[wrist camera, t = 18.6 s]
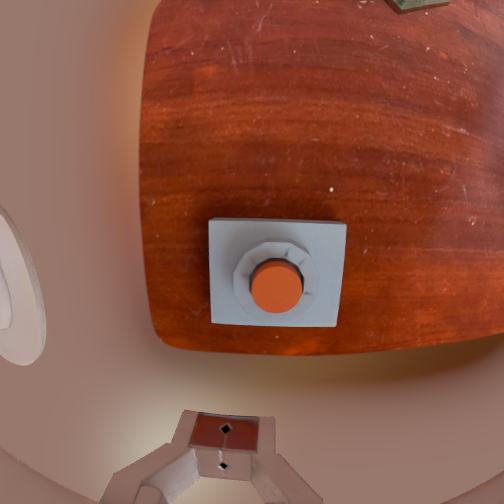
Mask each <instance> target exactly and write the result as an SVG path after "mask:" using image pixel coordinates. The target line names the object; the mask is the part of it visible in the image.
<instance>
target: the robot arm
mask: <svg viewBox="0 0 504 504" xmlns="http://www.w3.org/2000/svg"><path fill="white" fill-rule="evenodd" d="M11 317H12V310H11V301H10V296H9V291H8V287H7V284H6V280H5V277H4V274H3V271H2V268H1V262H0V331H1V330H6V329H7V328H8V327H9V326H10V323H11ZM199 476H202V477H211V478H222V479H232V480H243V481H251V483H252V485H253V486H254V488H255V489H256V491H257V492H258V494H259V495H260V497H261V498H262V500H263V501H264V502H265V504H323V499H322V498H321V497H320V496H319V495H318V494H317V493H316V492H315V491H314V490H313V489H312V488H311V487H310V486H309V485H308V484H307V483H306V482H305V481H304V480H303V479H302V477H300V475H299V474H298V473H297V472H296V471H295V470H294V469H293V468H292V467H291V466H290V465H289V463H288V462H287V461H286V460H285V459H284V458H283V457H282V456H281V455H280V454H275V418H274V417H255V416H253V417H252V416H233V415H220V414H211V413H204V412H195V411H189V410H184V412H183V413H182V415H181V418H180V420H179V423H178V426H177V428H176V431H175V434H174V436H173V439H172V442H171V444H170V443H166V444H164V445H163V446H161V447H159V448H158V449H156V450H154V451H153V452H151V453H149V454H148V455H146V456H145V457H143V458H141V459H139V460H138V461H136V462H134V463H132V464H131V465H129V466H127V467H125V468H124V469H122V470H120V471H118V472H116V473H114V474H113V476H112V478H111V480H110V482H109V484H108V486H107V488H106V490H105V492H104V494H103V496H102V498H101V500H100V502H96V501H94V500H91V499H89V498H87V497H85V496H83V495H81V494H78V493H76V492H74V491H72V490H70V489H68V488H66V487H64V486H63V485H61V484H59V483H57V482H55V481H53V480H52V479H50V478H48V477H46V476H44V475H43V474H41V473H40V472H38V471H36V470H35V469H33V468H32V467H30V466H28V465H27V464H25V463H24V462H22V461H21V460H19V459H18V458H17V457H15V456H14V455H12V454H11V453H10V452H8V451H7V450H6V449H4V448H3V447H2V446H0V504H170V503H171V502H172V501H173V500H175V499H176V498H177V497H178V496H179V495H180V494H182V493H183V492H184V491H185V490H186V489H187V488H189V487H190V486H191V485H192V484H193V483H194V482H195V481H196V480H197V479H199V478H200V477H199ZM441 504H504V471H503V472H501V473H499V474H498V475H496V476H494V477H493V478H491V479H489V480H488V481H486V482H484V483H482V484H480V485H479V486H477V487H475V488H473V489H471V490H469V491H467V492H465V493H463V494H461V495H459V496H457V497H455V498H452V499H450V500H448V501H446V502H443V503H441Z"/></svg>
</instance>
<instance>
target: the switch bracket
mask: <svg viewBox="0 0 504 504" xmlns="http://www.w3.org/2000/svg"><path fill="white" fill-rule="evenodd" d="M385 1H386V2H387V3H388V4H389V5H390V6H391V7H392V8H393V9H394V10H395V11H396V12H397V13H398V14H403V13H407V12H412V11H417V10H422V9H427V8H433V7H439V6H446V5H448V4H449V3H450V2H451V1H450V0H385Z"/></svg>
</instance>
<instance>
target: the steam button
mask: <svg viewBox="0 0 504 504" xmlns="http://www.w3.org/2000/svg"><path fill="white" fill-rule="evenodd" d="M251 292H252V297H253V299H254V301H255V303H256V304H257V305H258V306H259V307H260V308H261V309H263V310H264V311H266V312H269V313H283V312H286V311H289V310H290V309H292V308H293V307H294V306H295V305H296V304H297V303H298V301H299V300H300V298H301V294H302V285H301V281H300V278H299V274H298V272H297V271H296V269H295V268H294V267H293V266H292V265H290V264H289V263H287V262H284V261H280V260H273V261H269V262H266V263H264V264H263V265H262V266H260V267H259V268H258V270H257V271H256V273H255V275H254V278H253V282H252V288H251Z"/></svg>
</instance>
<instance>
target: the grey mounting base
mask: <svg viewBox="0 0 504 504" xmlns="http://www.w3.org/2000/svg"><path fill="white" fill-rule="evenodd" d="M346 226H347V225H346V224H344V223H342V222H340V221H323V220H298V219H265V218H213V219H211V220H209V269H210V299H211V322H212V323H221V324H238V325H259V326H293V327H336V322H337V315H338V308H339V300H340V292H341V283H342V274H343V264H344V253H345V241H346ZM273 260H280V261H284V262H287V263H289V264H290V265H292V266H293V267H294V268H295V269H296V271H297V272H298V274H299V278H300V281H301V285H302V294H301V298H300V300H299V301H298V303H297V304H296V305H295V306H294V307H293V308H292V309H290V310H289V311H286V312H283V313H269V312H266V311H264V310H263V309H261V308H260V307H259V306H258V305H257V304H256V303H255V301H254V299H253V297H252V292H251V288H252V282H253V278H254V275H255V273H256V271H257V270H258V268H259V267H260V266H262V265H263V264H264V263H266V262H269V261H273Z"/></svg>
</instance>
